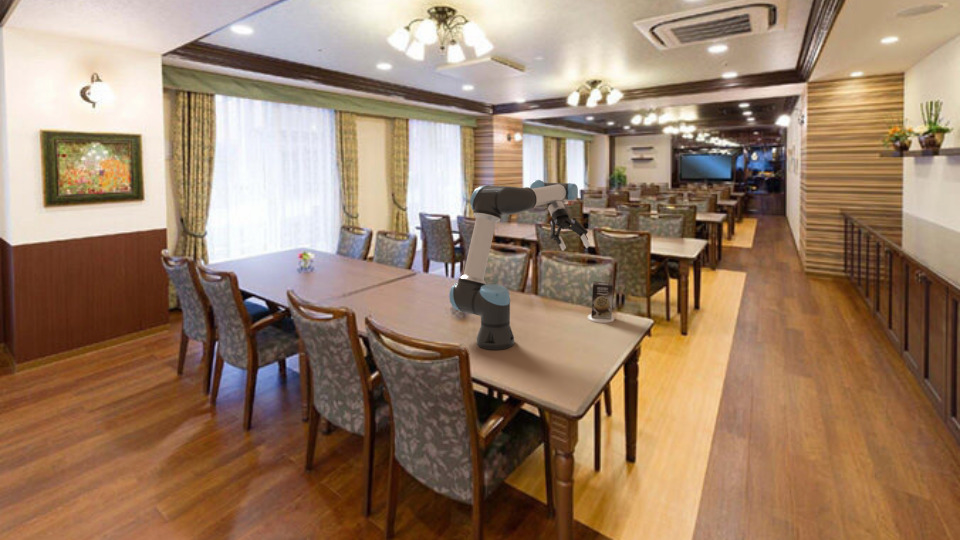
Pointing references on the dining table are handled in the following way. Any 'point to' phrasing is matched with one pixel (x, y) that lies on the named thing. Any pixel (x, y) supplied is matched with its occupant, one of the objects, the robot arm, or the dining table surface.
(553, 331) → the dining table surface
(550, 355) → the dining table surface
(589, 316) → the plate
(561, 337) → the dining table surface
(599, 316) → the coffee box
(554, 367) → the dining table surface
